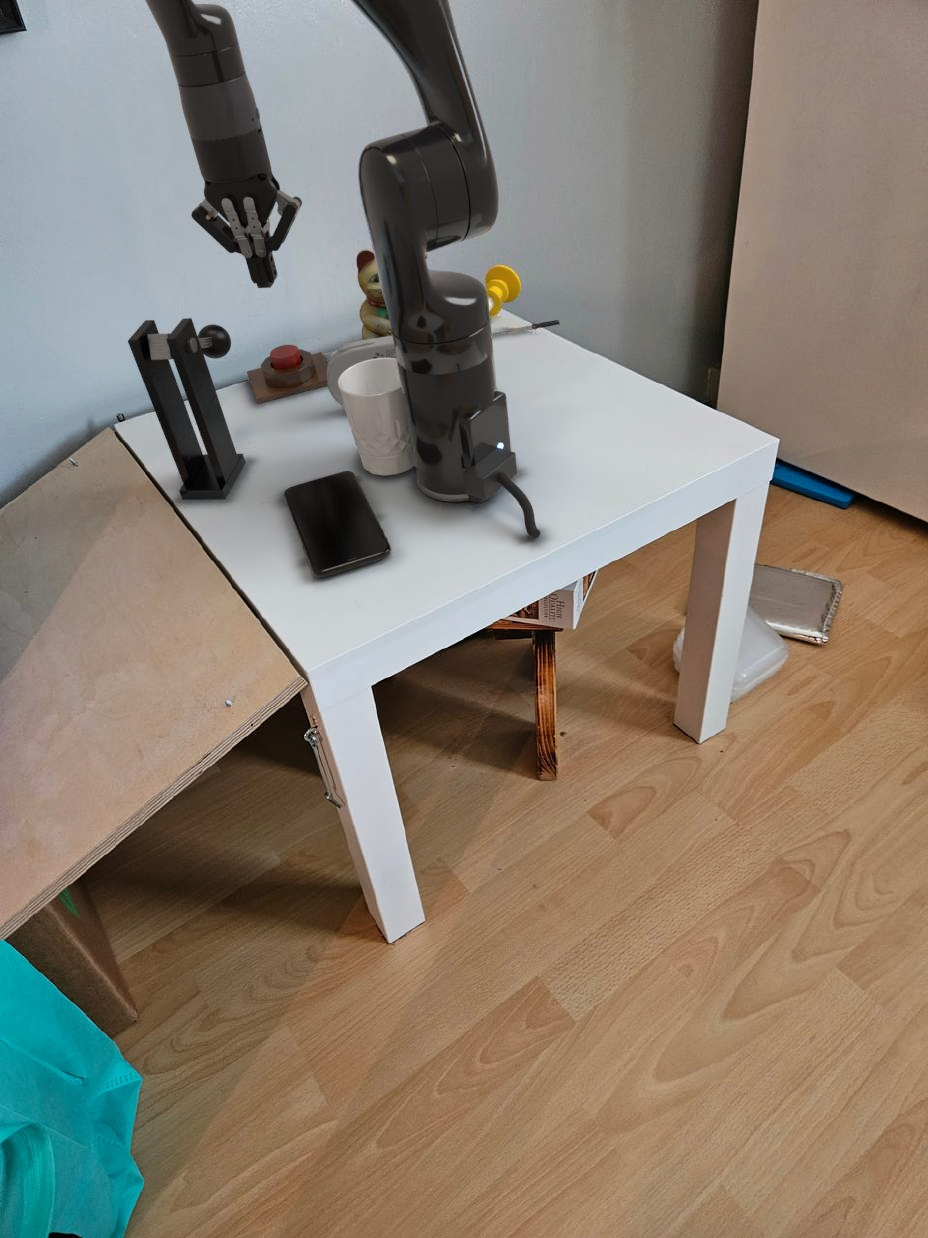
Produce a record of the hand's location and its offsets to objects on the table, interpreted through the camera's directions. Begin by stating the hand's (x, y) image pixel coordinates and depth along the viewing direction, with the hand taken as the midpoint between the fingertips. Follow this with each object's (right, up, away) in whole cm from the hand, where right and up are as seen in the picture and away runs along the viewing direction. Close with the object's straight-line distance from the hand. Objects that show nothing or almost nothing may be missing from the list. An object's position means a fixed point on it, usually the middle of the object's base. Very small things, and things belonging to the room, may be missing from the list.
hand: (266, 284), depth 108 cm
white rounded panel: (+18, -14, +1) cm, 22 cm away
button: (+1, -7, +7) cm, 10 cm away
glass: (+15, -22, -8) cm, 28 cm away
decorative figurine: (+15, -6, +9) cm, 19 cm away
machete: (+29, -4, +10) cm, 31 cm away
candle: (+29, +6, +16) cm, 34 cm away
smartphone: (+10, -30, -16) cm, 36 cm away
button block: (+1, -9, +8) cm, 12 cm away
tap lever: (-5, -12, -12) cm, 18 cm away
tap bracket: (-4, -24, -7) cm, 26 cm away
